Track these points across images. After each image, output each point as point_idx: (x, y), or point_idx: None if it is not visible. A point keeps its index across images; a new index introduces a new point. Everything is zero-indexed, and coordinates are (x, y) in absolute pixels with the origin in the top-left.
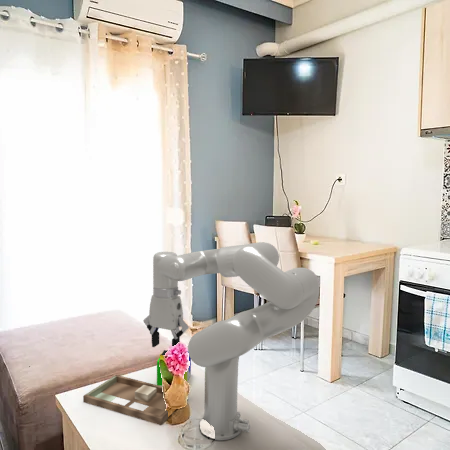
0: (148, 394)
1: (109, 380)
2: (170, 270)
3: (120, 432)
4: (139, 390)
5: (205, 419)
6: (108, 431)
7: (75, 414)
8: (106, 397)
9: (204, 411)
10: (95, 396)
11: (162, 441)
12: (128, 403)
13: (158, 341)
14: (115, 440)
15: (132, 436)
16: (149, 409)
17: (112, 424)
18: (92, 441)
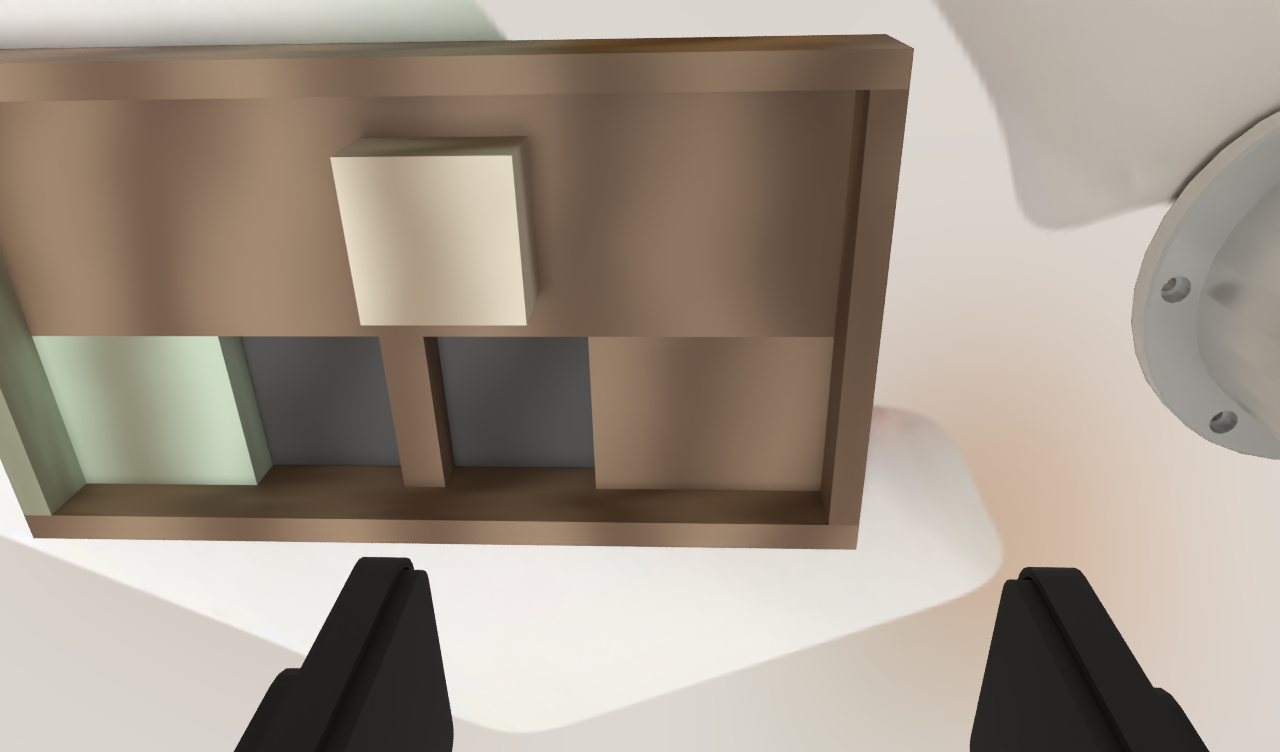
0: (524, 310)
1: None
2: None
3: (587, 605)
4: (386, 287)
5: (1263, 424)
6: (509, 623)
7: (151, 572)
8: (153, 382)
9: (1272, 412)
10: (62, 409)
11: (913, 577)
12: (396, 378)
13: (406, 656)
14: (617, 668)
15: (690, 607)
16: (628, 378)
17: (472, 563)
18: (499, 716)
